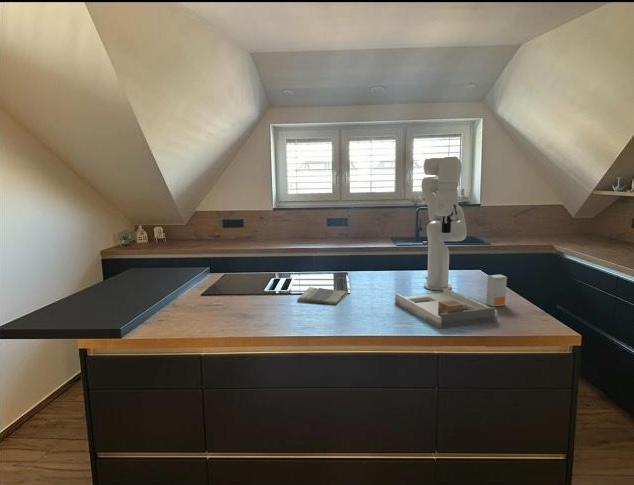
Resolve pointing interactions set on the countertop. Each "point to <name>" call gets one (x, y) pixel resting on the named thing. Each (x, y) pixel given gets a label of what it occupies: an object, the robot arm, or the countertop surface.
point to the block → (449, 306)
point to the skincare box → (496, 290)
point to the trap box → (429, 312)
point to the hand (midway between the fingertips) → (446, 232)
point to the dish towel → (322, 296)
